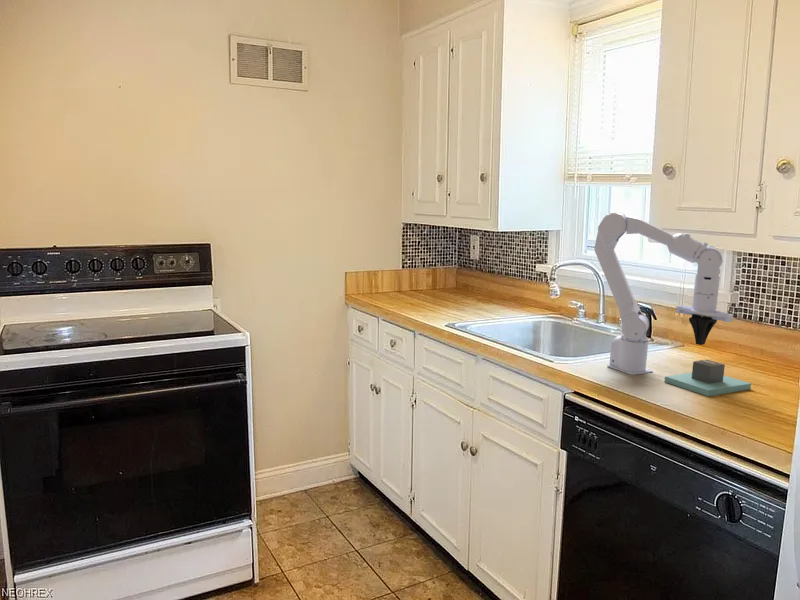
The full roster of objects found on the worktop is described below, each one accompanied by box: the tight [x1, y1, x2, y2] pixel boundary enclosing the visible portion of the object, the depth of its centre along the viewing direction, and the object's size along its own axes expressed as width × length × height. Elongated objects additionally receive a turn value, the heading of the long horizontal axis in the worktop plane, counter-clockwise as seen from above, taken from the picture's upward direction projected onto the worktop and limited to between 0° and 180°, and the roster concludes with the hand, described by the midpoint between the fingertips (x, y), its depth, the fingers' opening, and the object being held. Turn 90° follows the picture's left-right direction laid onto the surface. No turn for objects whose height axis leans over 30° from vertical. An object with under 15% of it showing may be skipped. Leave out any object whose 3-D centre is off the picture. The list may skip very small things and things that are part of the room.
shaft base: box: [664, 371, 752, 397], centre depth 165 cm, size 13×16×4 cm
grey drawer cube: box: [691, 359, 726, 384], centre depth 165 cm, size 5×5×5 cm
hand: (700, 344), depth 170 cm, fingers closed
